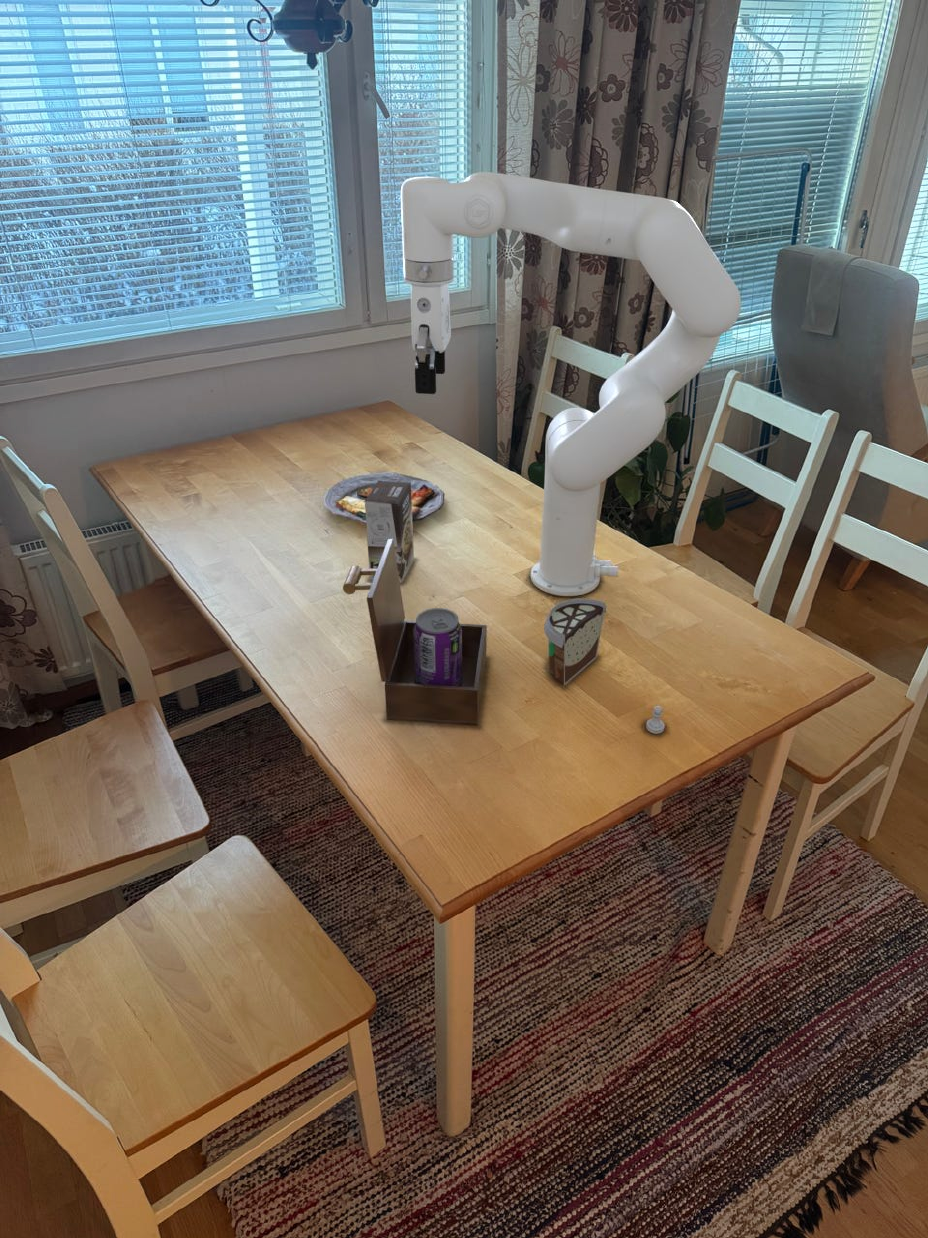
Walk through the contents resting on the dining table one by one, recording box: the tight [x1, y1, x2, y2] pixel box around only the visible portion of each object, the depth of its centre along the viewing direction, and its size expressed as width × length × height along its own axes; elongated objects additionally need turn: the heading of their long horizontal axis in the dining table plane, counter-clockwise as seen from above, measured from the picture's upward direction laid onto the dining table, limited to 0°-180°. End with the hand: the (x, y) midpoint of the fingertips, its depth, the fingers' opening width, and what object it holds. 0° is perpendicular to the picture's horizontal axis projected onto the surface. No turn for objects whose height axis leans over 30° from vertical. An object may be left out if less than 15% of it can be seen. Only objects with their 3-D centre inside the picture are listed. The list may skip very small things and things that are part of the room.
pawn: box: [645, 705, 666, 735], centre depth 121 cm, size 3×3×4 cm
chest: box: [383, 619, 488, 727], centre depth 128 cm, size 13×16×7 cm
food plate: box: [323, 471, 445, 524], centre depth 180 cm, size 25×23×4 cm
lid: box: [342, 539, 406, 683], centre depth 123 cm, size 14×16×6 cm
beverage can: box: [413, 607, 462, 687], centre depth 126 cm, size 7×7×12 cm
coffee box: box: [365, 481, 415, 584], centre depth 154 cm, size 9×6×16 cm
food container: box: [543, 598, 607, 687], centre depth 132 cm, size 12×6×10 cm, turn 141°
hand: (430, 382), depth 137 cm, fingers open, 9 cm apart
